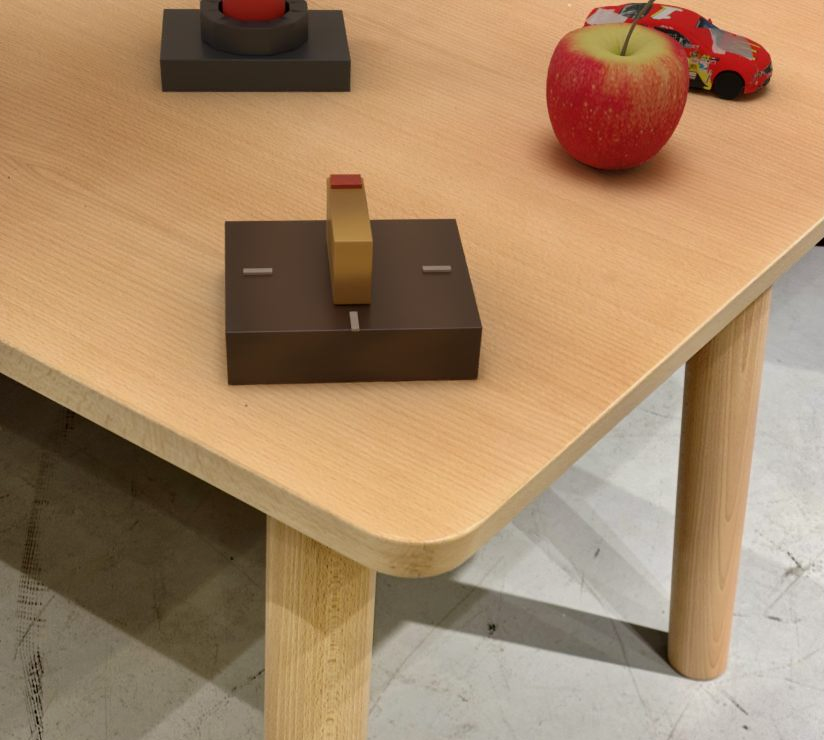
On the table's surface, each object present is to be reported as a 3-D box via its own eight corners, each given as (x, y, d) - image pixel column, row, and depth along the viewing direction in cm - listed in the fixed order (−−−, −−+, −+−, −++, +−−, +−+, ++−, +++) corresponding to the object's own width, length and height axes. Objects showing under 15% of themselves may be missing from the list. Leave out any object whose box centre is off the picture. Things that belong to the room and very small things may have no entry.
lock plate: (227, 386, 65) (225, 330, 63) (226, 269, 73) (224, 216, 71) (478, 380, 67) (483, 326, 65) (451, 266, 74) (455, 214, 72)
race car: (774, 77, 94) (788, 19, 92) (760, 109, 90) (774, 50, 88) (588, 38, 97) (596, -18, 95) (567, 68, 94) (575, 10, 91)
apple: (701, 179, 83) (735, 16, 76) (576, 201, 80) (599, 34, 73) (633, 119, 88) (659, -39, 82) (514, 137, 86) (531, -24, 79)
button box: (162, 92, 88) (157, 31, 85) (165, 40, 94) (161, -19, 91) (350, 92, 89) (351, 32, 87) (342, 40, 95) (343, -18, 92)
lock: (371, 304, 66) (373, 236, 63) (333, 305, 66) (334, 236, 63) (361, 238, 70) (363, 171, 68) (326, 238, 70) (326, 172, 67)
